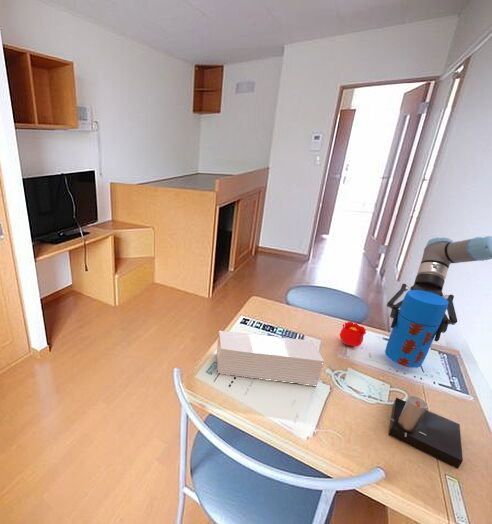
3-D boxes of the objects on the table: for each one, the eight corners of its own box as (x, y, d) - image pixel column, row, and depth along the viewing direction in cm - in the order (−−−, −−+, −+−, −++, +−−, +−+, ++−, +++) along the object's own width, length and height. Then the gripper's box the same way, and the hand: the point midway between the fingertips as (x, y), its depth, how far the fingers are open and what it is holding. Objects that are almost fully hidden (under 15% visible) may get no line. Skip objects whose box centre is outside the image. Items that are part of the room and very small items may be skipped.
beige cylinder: (397, 417, 86) (408, 392, 82) (415, 425, 84) (427, 399, 80) (397, 427, 83) (408, 402, 80) (416, 435, 81) (429, 409, 77)
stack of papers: (217, 373, 106) (220, 348, 102) (216, 354, 116) (219, 330, 111) (316, 387, 100) (324, 361, 96) (306, 365, 110) (313, 340, 106)
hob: (455, 431, 85) (460, 423, 84) (458, 472, 75) (463, 463, 74) (388, 402, 95) (391, 394, 93) (382, 435, 84) (386, 427, 83)
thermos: (389, 344, 117) (410, 286, 108) (425, 359, 109) (451, 298, 100) (380, 356, 111) (402, 296, 101) (418, 372, 103) (446, 308, 94)
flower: (362, 343, 122) (368, 326, 119) (358, 352, 117) (364, 335, 114) (340, 335, 127) (345, 319, 124) (335, 343, 122) (340, 327, 119)
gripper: (391, 264, 113) (373, 317, 108) (481, 282, 98) (465, 344, 93) (388, 273, 118) (371, 323, 114) (473, 291, 104) (457, 350, 99)
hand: (413, 333), depth 104 cm, fingers closed on thermos, 11 cm apart
